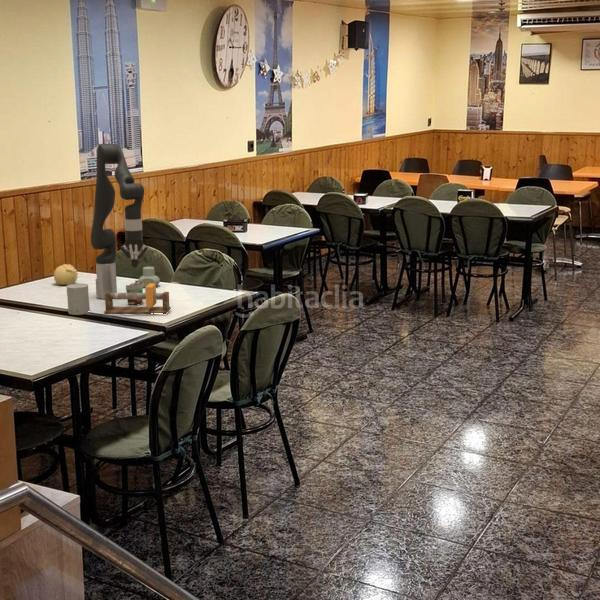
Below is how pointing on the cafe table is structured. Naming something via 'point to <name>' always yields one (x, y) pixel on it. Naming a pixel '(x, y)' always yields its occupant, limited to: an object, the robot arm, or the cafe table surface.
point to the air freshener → (149, 276)
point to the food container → (135, 291)
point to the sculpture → (65, 275)
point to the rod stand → (135, 310)
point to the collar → (150, 295)
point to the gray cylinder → (78, 299)
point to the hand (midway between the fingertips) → (135, 267)
